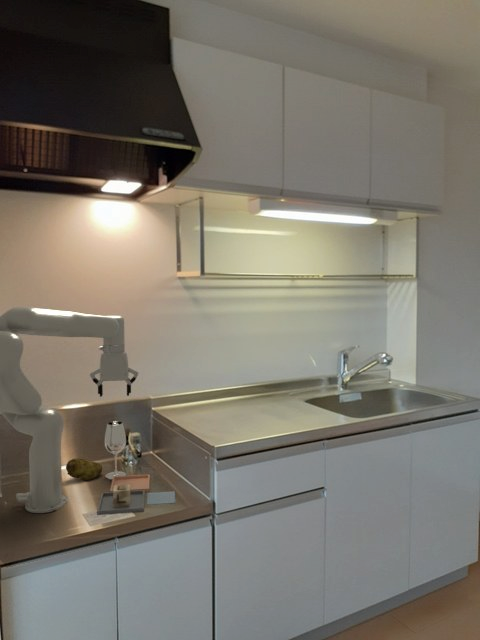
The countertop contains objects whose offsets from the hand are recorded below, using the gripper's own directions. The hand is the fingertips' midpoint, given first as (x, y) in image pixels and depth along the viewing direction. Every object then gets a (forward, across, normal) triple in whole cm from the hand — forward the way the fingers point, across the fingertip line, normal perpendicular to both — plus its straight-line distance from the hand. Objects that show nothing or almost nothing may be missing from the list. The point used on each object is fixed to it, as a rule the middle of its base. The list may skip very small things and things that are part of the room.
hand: (114, 395), depth 184 cm
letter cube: (+30, +4, -26) cm, 39 cm away
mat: (+30, +16, -24) cm, 42 cm away
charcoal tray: (+30, +4, -26) cm, 40 cm away
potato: (+31, -11, -1) cm, 33 cm away
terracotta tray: (+30, +6, -11) cm, 33 cm away
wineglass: (+31, 0, 0) cm, 31 cm away
